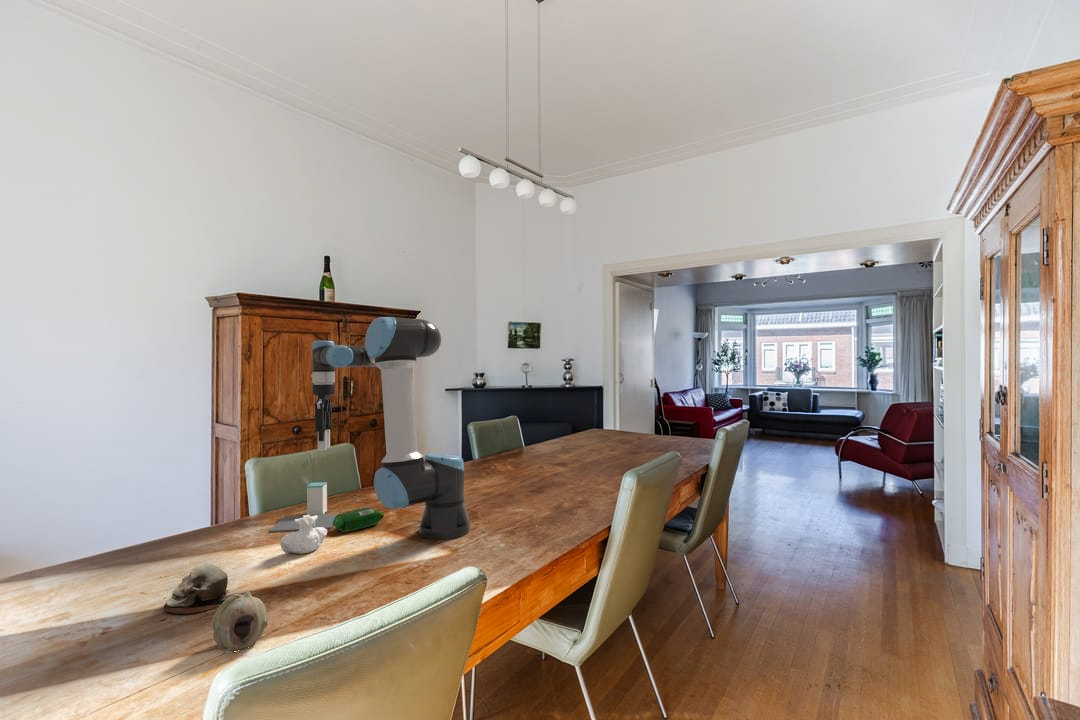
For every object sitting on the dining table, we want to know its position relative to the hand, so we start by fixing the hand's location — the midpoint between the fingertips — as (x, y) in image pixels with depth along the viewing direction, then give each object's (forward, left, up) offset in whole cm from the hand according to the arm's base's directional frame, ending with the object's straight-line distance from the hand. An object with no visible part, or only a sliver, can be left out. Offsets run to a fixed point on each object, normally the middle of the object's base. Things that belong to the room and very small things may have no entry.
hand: (324, 448), depth 177 cm
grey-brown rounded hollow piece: (-89, -10, -21) cm, 92 cm away
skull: (-70, +6, -21) cm, 74 cm away
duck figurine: (-44, -7, -21) cm, 49 cm away
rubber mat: (-19, 0, -21) cm, 28 cm away
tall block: (-9, 0, -21) cm, 22 cm away
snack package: (-25, -17, -21) cm, 37 cm away
